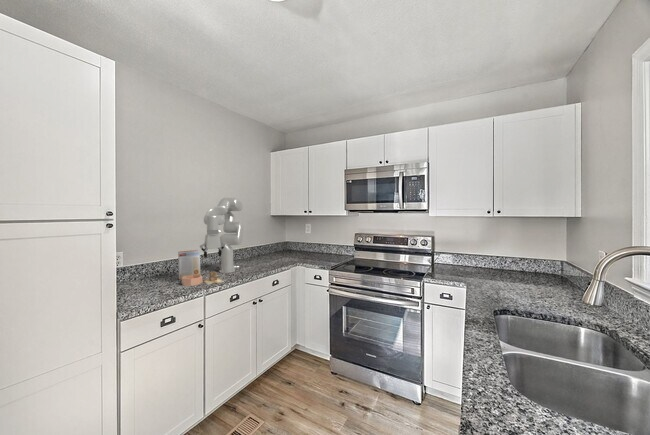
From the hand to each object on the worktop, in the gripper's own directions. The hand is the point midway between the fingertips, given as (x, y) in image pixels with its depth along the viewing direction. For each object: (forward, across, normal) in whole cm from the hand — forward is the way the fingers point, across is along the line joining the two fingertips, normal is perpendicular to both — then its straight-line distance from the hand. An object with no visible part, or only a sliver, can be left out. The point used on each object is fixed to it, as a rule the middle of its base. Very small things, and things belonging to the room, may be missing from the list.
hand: (212, 256), depth 189 cm
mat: (+18, 0, 0) cm, 18 cm away
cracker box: (+18, +9, -24) cm, 32 cm away
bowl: (+18, +12, -6) cm, 23 cm away
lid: (+18, 0, 0) cm, 18 cm away
